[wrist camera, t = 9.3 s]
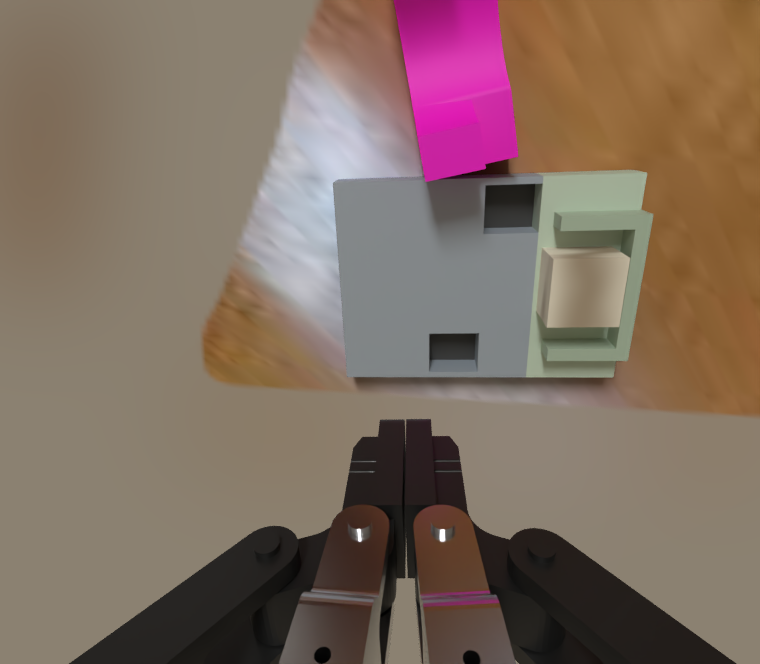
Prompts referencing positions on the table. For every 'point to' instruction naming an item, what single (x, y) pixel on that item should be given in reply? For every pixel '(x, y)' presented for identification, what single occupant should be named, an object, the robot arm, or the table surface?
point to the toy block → (457, 84)
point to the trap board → (479, 271)
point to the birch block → (581, 286)
